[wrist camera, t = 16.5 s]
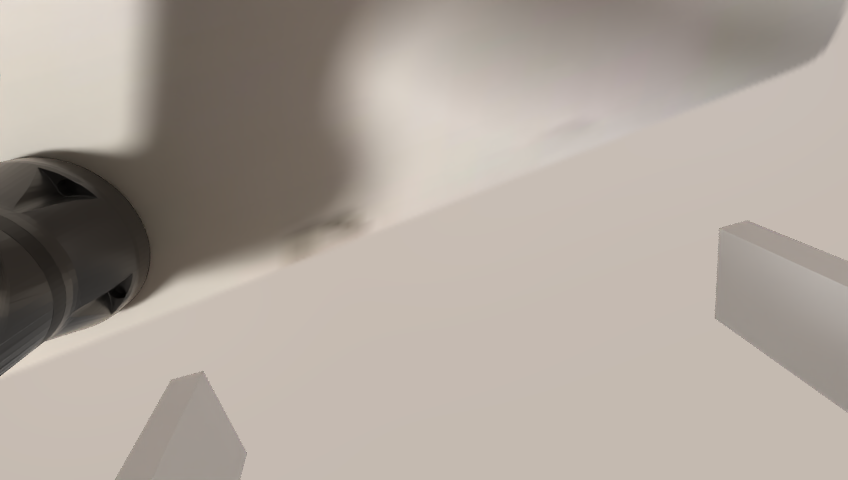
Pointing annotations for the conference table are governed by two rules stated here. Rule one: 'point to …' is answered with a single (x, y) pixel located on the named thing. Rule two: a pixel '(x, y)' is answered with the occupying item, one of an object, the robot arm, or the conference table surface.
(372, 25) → the conference table surface
